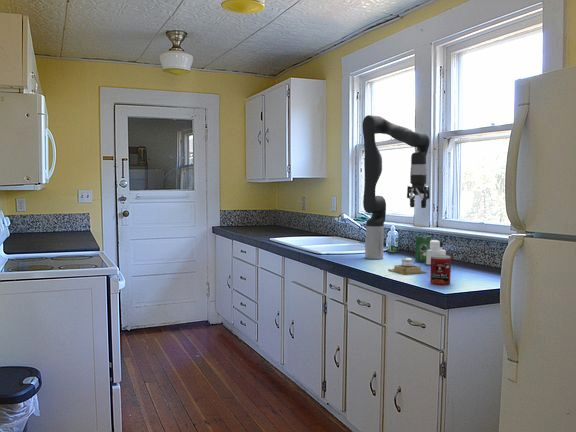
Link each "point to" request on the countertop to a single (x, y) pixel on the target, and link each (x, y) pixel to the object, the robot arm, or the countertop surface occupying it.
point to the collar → (407, 270)
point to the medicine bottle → (434, 250)
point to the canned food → (440, 269)
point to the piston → (407, 262)
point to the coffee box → (422, 248)
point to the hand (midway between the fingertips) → (417, 207)
